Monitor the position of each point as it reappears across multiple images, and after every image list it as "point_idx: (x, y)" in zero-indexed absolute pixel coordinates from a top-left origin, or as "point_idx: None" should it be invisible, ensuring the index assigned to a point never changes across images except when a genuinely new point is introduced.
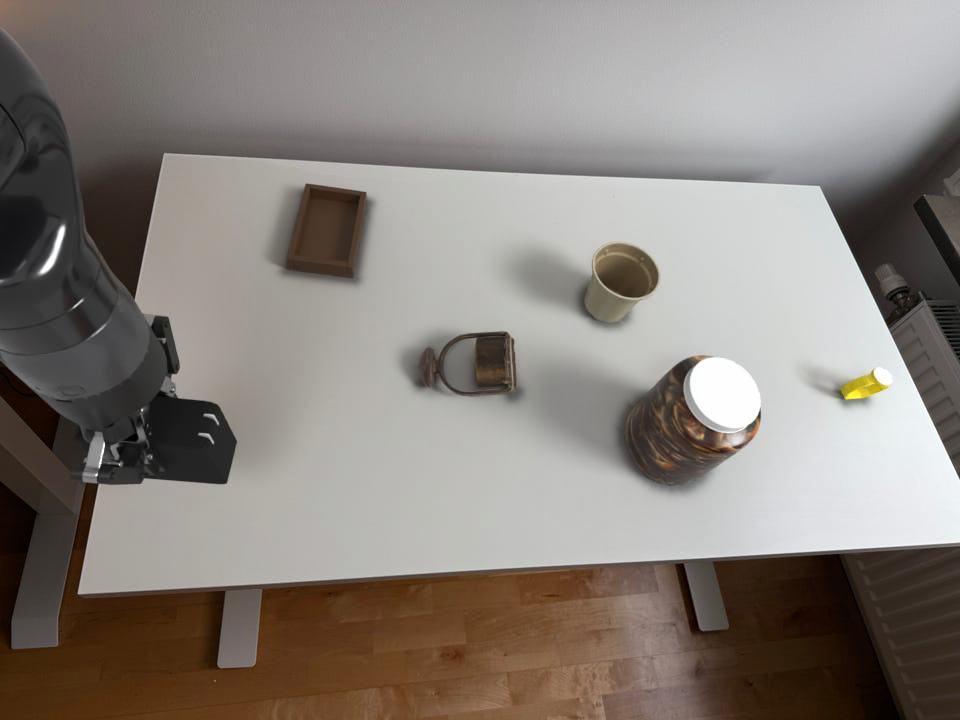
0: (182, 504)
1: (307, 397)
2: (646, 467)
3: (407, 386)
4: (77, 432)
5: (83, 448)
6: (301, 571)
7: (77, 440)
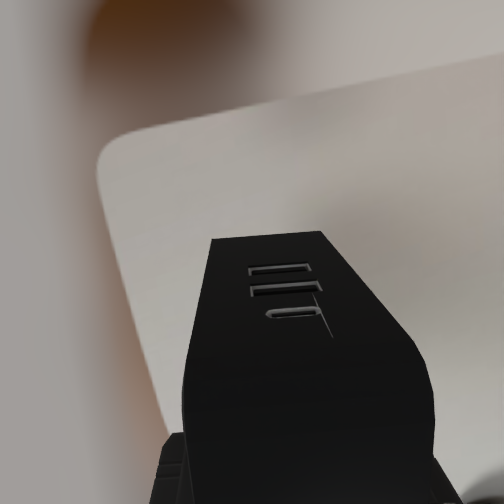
0: (234, 235)
1: (432, 362)
2: None
3: (458, 486)
4: (208, 409)
5: (196, 315)
6: (168, 416)
7: (182, 390)
